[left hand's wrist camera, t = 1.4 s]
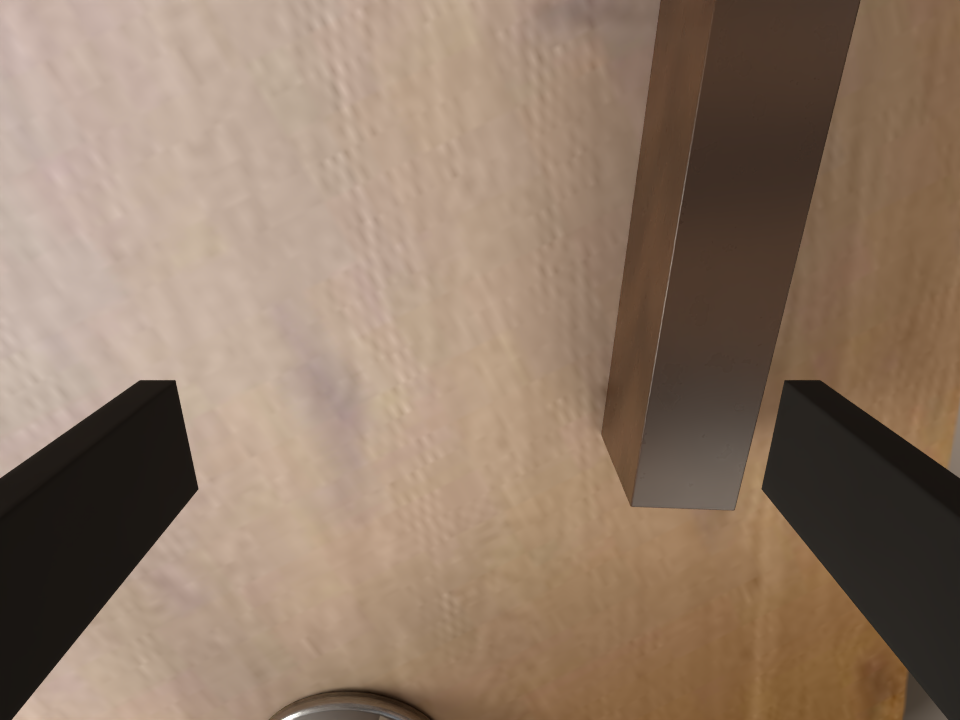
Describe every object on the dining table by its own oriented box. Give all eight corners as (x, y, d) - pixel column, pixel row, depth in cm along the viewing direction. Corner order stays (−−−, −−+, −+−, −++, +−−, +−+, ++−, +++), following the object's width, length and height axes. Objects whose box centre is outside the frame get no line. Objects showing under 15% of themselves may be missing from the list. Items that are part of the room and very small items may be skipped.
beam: (685, 438, 33) (735, 511, 27) (601, 435, 33) (630, 507, 27) (816, -223, 23) (953, -371, 16) (691, -230, 22) (778, -382, 16)
